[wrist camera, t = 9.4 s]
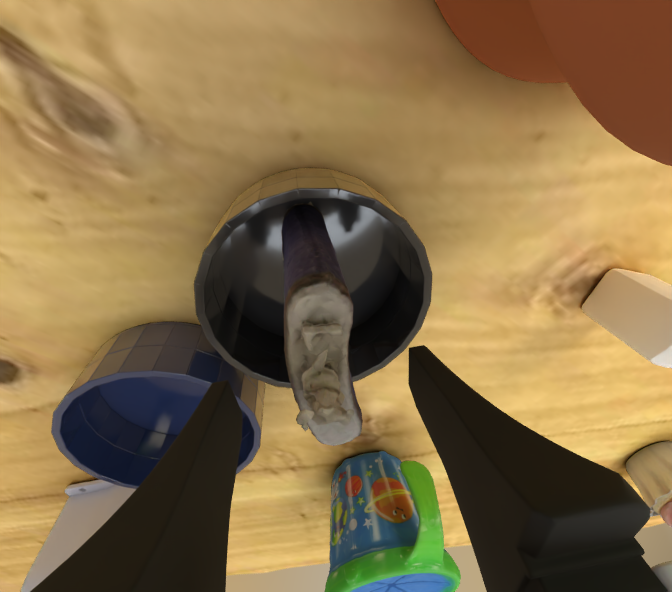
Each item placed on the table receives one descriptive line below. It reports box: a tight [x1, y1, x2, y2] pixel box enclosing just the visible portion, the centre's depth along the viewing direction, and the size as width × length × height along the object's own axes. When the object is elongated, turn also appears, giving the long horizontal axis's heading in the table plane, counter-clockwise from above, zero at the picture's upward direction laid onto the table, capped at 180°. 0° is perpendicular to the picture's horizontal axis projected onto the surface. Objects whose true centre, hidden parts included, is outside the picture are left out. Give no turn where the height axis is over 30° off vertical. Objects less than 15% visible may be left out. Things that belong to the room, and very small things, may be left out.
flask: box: [281, 202, 362, 446], centre depth 16 cm, size 9×3×11 cm, turn 6°
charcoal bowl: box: [194, 167, 432, 388], centre depth 18 cm, size 12×12×4 cm
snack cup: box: [325, 451, 461, 592], centre depth 29 cm, size 16×10×10 cm
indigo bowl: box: [51, 322, 265, 489], centre depth 22 cm, size 12×12×4 cm
